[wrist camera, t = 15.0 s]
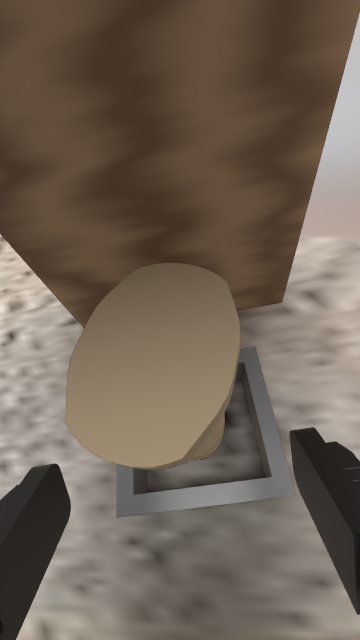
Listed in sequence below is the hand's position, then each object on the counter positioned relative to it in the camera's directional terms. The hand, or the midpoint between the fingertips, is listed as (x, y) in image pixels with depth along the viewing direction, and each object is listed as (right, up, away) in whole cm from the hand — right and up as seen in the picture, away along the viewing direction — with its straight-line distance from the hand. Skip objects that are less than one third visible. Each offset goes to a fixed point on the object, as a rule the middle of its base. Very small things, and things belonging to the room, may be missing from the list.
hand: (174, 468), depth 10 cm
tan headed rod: (+2, -4, +11) cm, 12 cm away
